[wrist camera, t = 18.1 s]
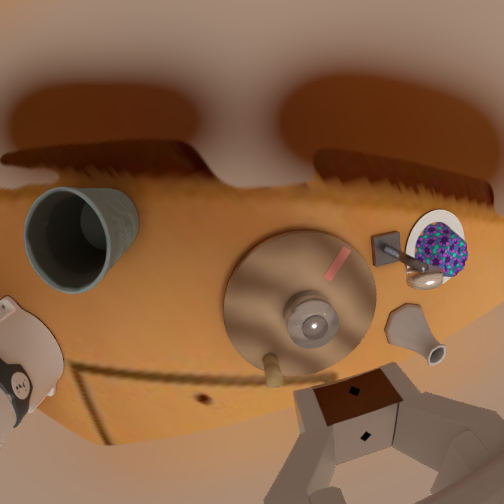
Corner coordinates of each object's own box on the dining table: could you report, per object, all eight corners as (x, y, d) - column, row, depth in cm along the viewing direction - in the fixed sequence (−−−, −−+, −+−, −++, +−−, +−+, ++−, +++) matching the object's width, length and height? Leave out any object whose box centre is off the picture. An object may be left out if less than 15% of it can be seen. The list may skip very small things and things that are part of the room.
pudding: (418, 197, 39) (440, 201, 34) (470, 223, 41) (491, 230, 36) (391, 276, 42) (409, 288, 37) (445, 293, 43) (464, 305, 38)
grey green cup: (146, 259, 38) (116, 295, 26) (77, 261, 37) (31, 293, 26) (141, 178, 36) (105, 181, 24) (70, 185, 35) (17, 192, 23)
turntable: (315, 385, 44) (327, 415, 37) (196, 331, 40) (191, 360, 33) (395, 277, 41) (421, 295, 34) (278, 198, 37) (289, 204, 30)
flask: (419, 337, 45) (452, 368, 35) (382, 348, 44) (412, 384, 35) (423, 297, 43) (461, 325, 33) (384, 307, 43) (419, 340, 33)
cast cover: (311, 339, 40) (320, 358, 35) (273, 320, 38) (279, 338, 34) (338, 303, 39) (350, 318, 34) (300, 281, 37) (310, 295, 33)
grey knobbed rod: (371, 265, 41) (419, 298, 29) (369, 236, 40) (419, 262, 28) (398, 258, 41) (450, 287, 29) (397, 230, 40) (451, 252, 28)
